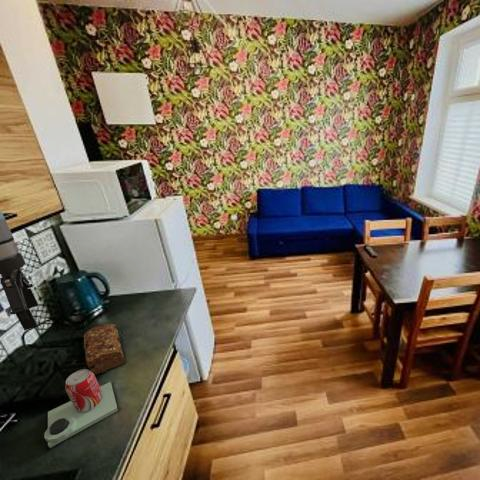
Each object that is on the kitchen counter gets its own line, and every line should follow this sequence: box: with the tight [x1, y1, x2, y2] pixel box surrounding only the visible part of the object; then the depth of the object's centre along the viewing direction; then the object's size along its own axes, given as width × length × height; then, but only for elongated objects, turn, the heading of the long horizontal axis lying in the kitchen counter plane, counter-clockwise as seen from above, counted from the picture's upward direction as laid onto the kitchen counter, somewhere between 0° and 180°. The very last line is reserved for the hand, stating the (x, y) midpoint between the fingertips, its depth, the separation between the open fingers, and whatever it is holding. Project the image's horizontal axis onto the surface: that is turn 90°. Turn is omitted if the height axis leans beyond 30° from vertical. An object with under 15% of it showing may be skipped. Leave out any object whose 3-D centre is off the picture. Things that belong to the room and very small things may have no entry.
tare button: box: [50, 418, 68, 435], centre depth 77 cm, size 4×4×2 cm
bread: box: [83, 323, 125, 376], centre depth 104 cm, size 19×11×10 cm, turn 40°
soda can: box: [64, 368, 103, 412], centre depth 84 cm, size 7×7×12 cm
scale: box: [43, 381, 119, 449], centre depth 84 cm, size 16×14×3 cm
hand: (32, 316), depth 84 cm, fingers open, 13 cm apart
